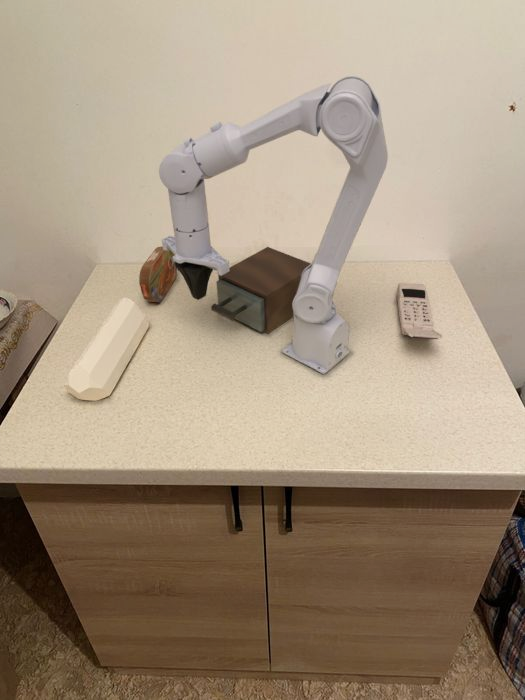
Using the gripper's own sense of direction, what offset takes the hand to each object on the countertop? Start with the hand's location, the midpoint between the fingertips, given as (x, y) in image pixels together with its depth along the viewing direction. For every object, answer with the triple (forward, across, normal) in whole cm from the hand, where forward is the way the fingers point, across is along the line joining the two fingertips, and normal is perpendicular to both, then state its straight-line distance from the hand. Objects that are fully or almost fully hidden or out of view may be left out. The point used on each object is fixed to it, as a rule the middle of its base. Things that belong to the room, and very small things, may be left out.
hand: (199, 296), depth 89 cm
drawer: (+9, +2, +12) cm, 15 cm away
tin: (+10, -20, +6) cm, 23 cm away
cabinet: (+9, +2, +16) cm, 19 cm away
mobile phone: (+10, +28, +30) cm, 42 cm away
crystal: (+10, -8, -15) cm, 20 cm away
